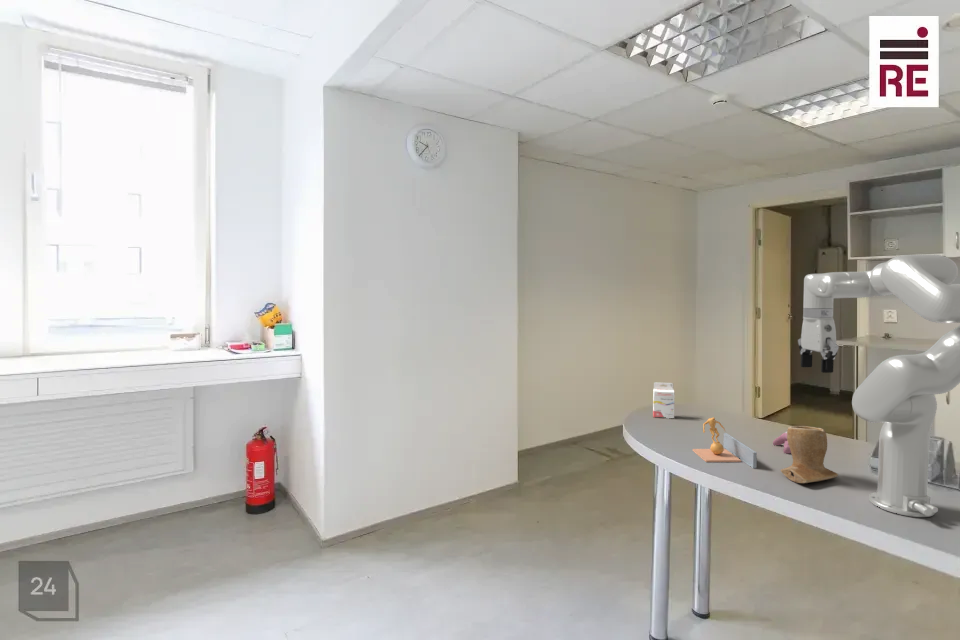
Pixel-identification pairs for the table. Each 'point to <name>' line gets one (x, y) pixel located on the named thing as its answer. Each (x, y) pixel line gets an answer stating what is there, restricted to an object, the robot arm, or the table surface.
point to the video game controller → (783, 442)
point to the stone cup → (807, 455)
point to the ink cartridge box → (663, 400)
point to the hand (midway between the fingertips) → (816, 369)
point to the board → (716, 456)
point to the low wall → (740, 450)
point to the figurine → (715, 446)
